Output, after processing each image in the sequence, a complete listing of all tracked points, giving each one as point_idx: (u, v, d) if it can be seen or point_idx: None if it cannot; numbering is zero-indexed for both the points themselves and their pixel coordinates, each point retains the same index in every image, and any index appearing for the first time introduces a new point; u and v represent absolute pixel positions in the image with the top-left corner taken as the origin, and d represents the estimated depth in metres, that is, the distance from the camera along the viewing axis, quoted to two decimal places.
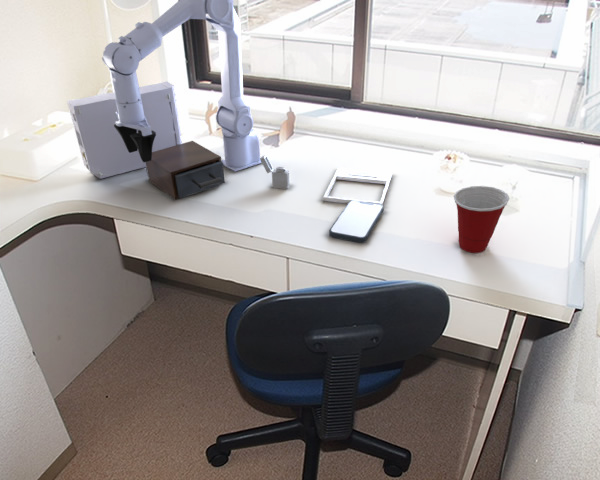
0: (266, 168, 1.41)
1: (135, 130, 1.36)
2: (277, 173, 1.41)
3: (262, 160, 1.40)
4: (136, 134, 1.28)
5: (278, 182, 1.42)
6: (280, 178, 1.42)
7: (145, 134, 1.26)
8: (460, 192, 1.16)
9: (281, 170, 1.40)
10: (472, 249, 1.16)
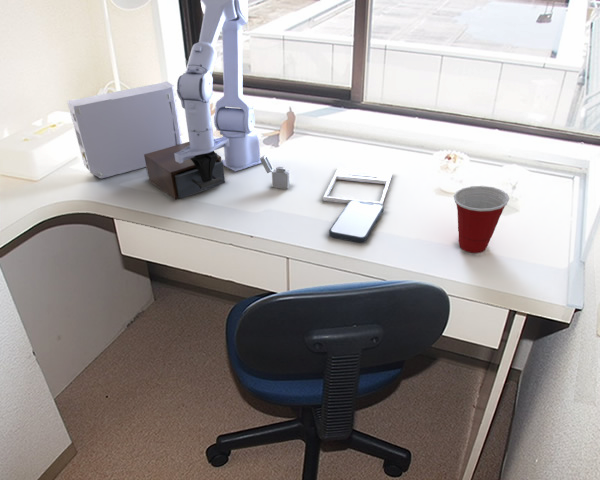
0: (266, 168, 1.41)
1: (209, 163, 1.33)
2: (277, 173, 1.41)
3: (262, 160, 1.40)
4: None
5: (278, 182, 1.42)
6: (280, 178, 1.42)
7: (176, 160, 1.29)
8: (460, 192, 1.16)
9: (281, 170, 1.40)
10: (472, 249, 1.16)
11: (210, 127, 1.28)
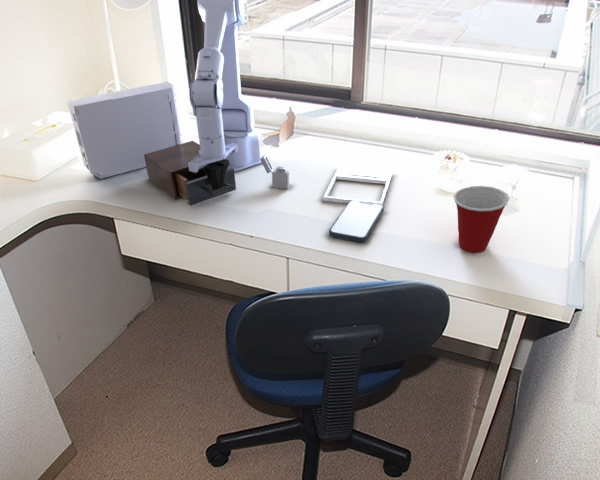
0: (266, 168, 1.41)
1: (221, 171, 1.31)
2: (277, 173, 1.41)
3: (262, 160, 1.40)
4: None
5: (278, 182, 1.42)
6: (280, 178, 1.42)
7: (190, 169, 1.25)
8: (460, 192, 1.16)
9: (281, 170, 1.40)
10: (472, 249, 1.16)
11: (222, 133, 1.25)
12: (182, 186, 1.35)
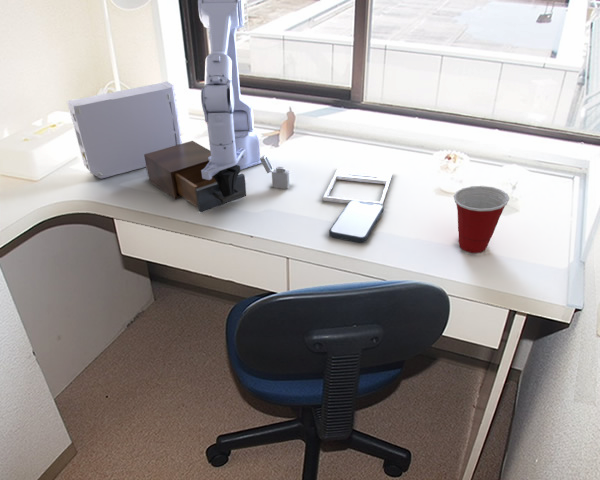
0: (266, 168, 1.41)
1: (232, 177, 1.28)
2: (277, 173, 1.41)
3: (262, 160, 1.40)
4: None
5: (278, 182, 1.42)
6: (280, 178, 1.42)
7: (203, 177, 1.22)
8: (460, 192, 1.16)
9: (281, 170, 1.40)
10: (472, 249, 1.16)
11: (234, 139, 1.23)
12: (192, 193, 1.32)
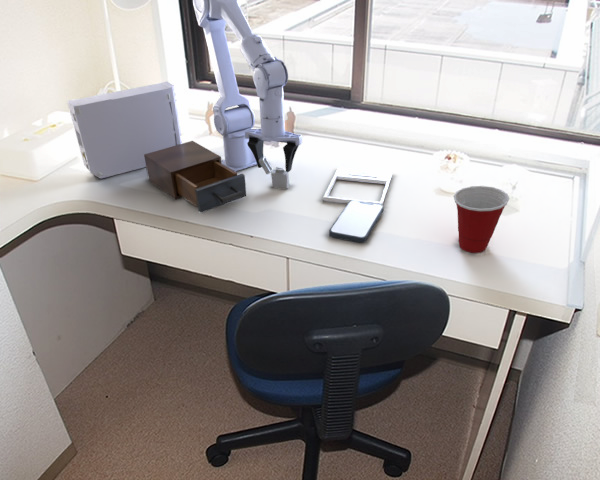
0: (265, 169, 1.40)
1: (262, 145, 1.40)
2: (276, 174, 1.40)
3: (261, 162, 1.39)
4: (287, 145, 1.34)
5: (278, 182, 1.42)
6: (279, 179, 1.41)
7: (300, 143, 1.34)
8: (460, 192, 1.16)
9: (280, 171, 1.40)
10: (472, 249, 1.16)
11: None
12: (192, 193, 1.32)
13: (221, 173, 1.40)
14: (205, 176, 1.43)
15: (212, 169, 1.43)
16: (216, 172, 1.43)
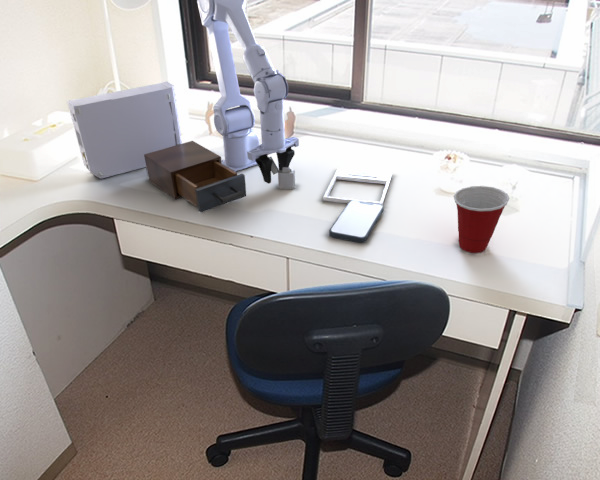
0: (272, 170, 1.40)
1: None
2: (284, 174, 1.40)
3: None
4: (287, 151, 1.39)
5: (285, 183, 1.42)
6: (286, 179, 1.41)
7: None
8: (460, 192, 1.16)
9: (288, 170, 1.40)
10: (472, 249, 1.16)
11: None
12: (192, 193, 1.32)
13: (221, 173, 1.40)
14: (205, 176, 1.43)
15: (212, 169, 1.43)
16: (216, 172, 1.43)
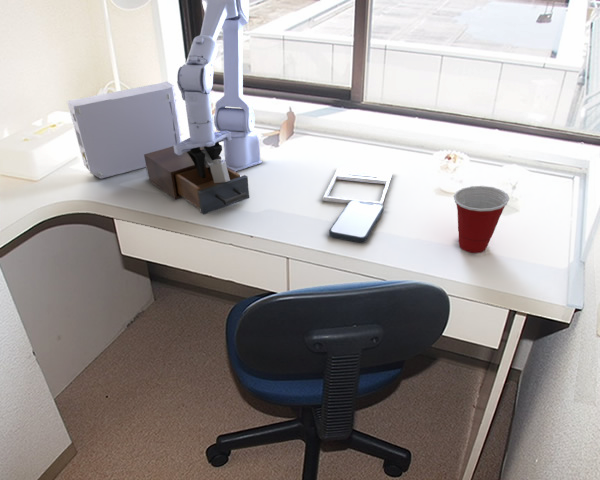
0: (204, 162, 1.32)
1: None
2: (213, 166, 1.31)
3: None
4: (214, 146, 1.31)
5: (216, 176, 1.32)
6: (217, 171, 1.31)
7: None
8: (460, 192, 1.16)
9: (216, 162, 1.30)
10: (472, 249, 1.16)
11: (211, 119, 1.26)
12: (195, 195, 1.31)
13: None
14: (207, 177, 1.42)
15: None
16: None
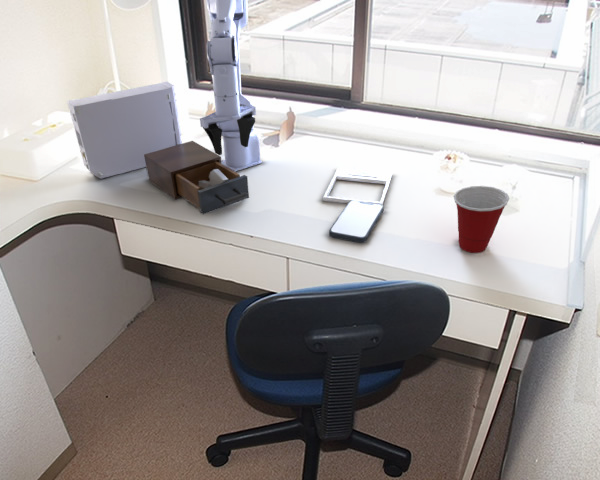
0: (205, 186, 1.36)
1: None
2: (210, 179, 1.34)
3: (199, 184, 1.38)
4: (248, 118, 1.34)
5: None
6: (214, 180, 1.33)
7: None
8: (460, 192, 1.16)
9: (211, 173, 1.34)
10: (472, 249, 1.16)
11: (238, 92, 1.29)
12: (194, 195, 1.32)
13: (224, 174, 1.40)
14: (207, 177, 1.42)
15: None
16: None
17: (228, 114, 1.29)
